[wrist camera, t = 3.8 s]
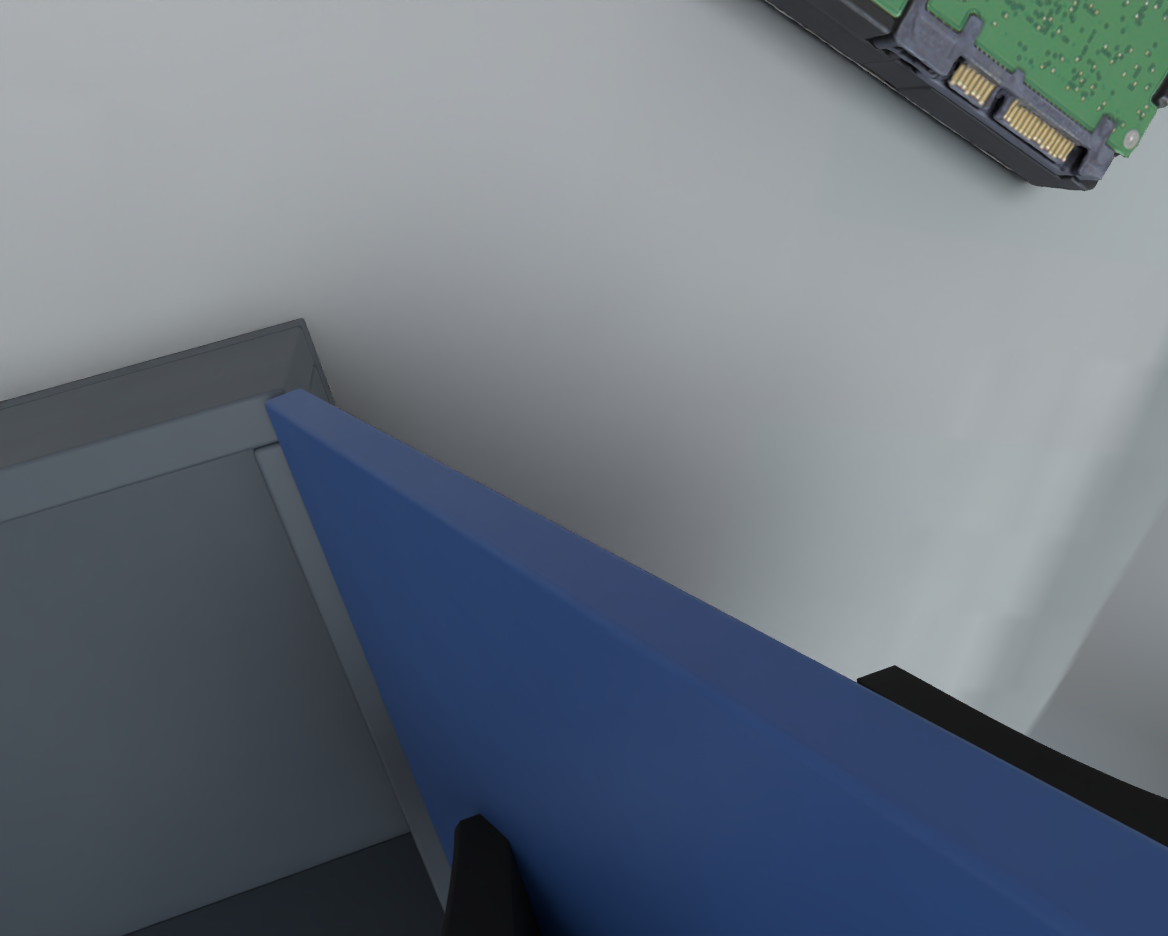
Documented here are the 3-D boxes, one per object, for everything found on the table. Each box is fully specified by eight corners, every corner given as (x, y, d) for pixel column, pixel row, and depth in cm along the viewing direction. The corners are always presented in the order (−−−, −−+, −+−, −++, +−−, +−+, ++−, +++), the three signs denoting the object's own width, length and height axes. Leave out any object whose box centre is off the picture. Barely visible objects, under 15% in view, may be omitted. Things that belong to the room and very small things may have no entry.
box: (-7, 984, 22) (-112, 1231, 17) (-365, 503, 16) (-673, 663, 12) (483, 807, 23) (516, 986, 19) (303, 317, 18) (282, 387, 13)
